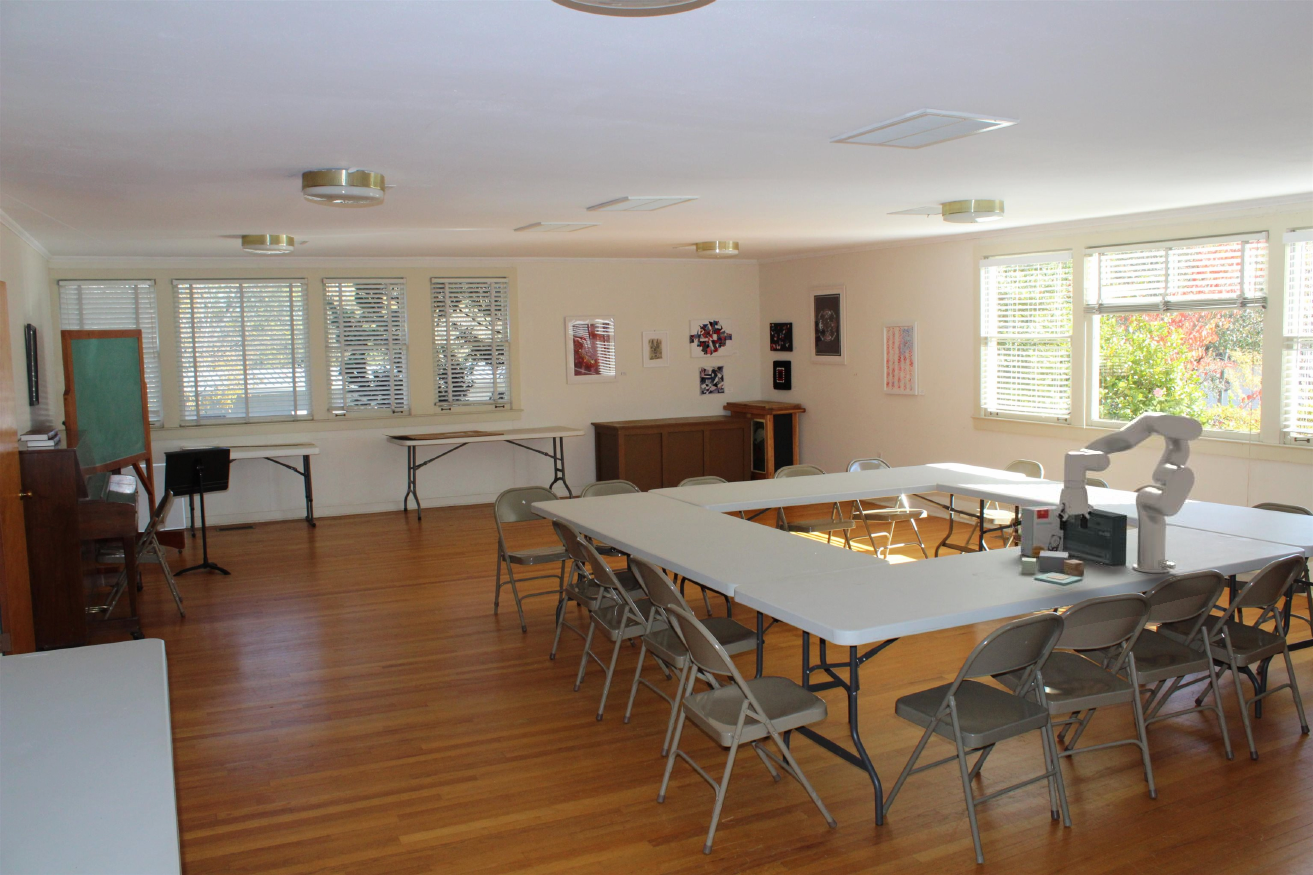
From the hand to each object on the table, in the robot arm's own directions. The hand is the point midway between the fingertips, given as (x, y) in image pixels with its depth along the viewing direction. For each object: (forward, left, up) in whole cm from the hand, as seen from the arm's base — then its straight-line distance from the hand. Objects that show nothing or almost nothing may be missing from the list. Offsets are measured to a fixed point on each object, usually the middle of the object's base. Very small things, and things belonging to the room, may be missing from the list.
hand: (1073, 529), depth 350 cm
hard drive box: (+27, -22, -18) cm, 39 cm away
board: (-1, +12, -17) cm, 21 cm away
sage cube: (+13, +9, -17) cm, 23 cm away
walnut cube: (0, 0, -17) cm, 17 cm away
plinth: (+10, -3, -18) cm, 20 cm away
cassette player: (+10, -30, -18) cm, 36 cm away
